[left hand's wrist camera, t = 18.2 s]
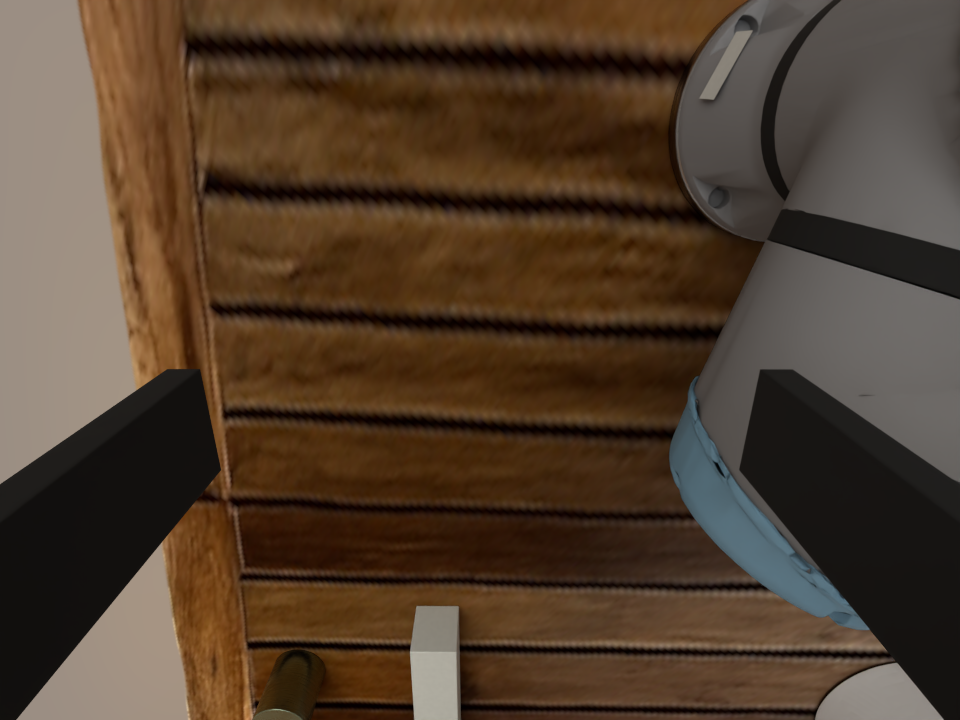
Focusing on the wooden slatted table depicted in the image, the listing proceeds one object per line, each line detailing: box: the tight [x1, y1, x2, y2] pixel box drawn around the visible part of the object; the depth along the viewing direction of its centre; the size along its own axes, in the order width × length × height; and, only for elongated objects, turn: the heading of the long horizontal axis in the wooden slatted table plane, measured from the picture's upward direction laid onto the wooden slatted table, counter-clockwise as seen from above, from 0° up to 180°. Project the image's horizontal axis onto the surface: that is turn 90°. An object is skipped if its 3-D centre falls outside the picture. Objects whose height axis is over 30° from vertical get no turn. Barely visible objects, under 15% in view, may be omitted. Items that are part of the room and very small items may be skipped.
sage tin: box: [252, 650, 325, 720], centre depth 50 cm, size 5×5×6 cm
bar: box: [410, 606, 461, 720], centre depth 52 cm, size 4×24×5 cm, turn 0°
